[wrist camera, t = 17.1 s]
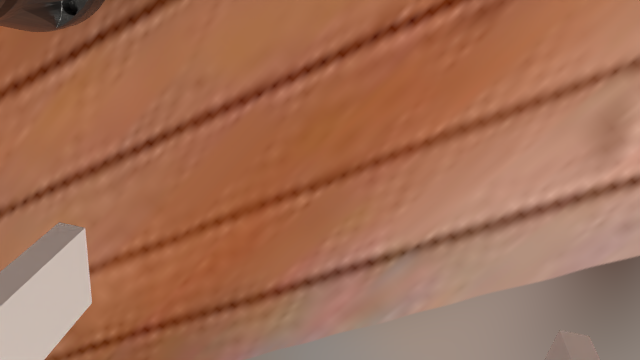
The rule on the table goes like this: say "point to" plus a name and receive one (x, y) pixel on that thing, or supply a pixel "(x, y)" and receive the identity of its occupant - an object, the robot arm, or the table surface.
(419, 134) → the table surface
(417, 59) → the table surface
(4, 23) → the robot arm
